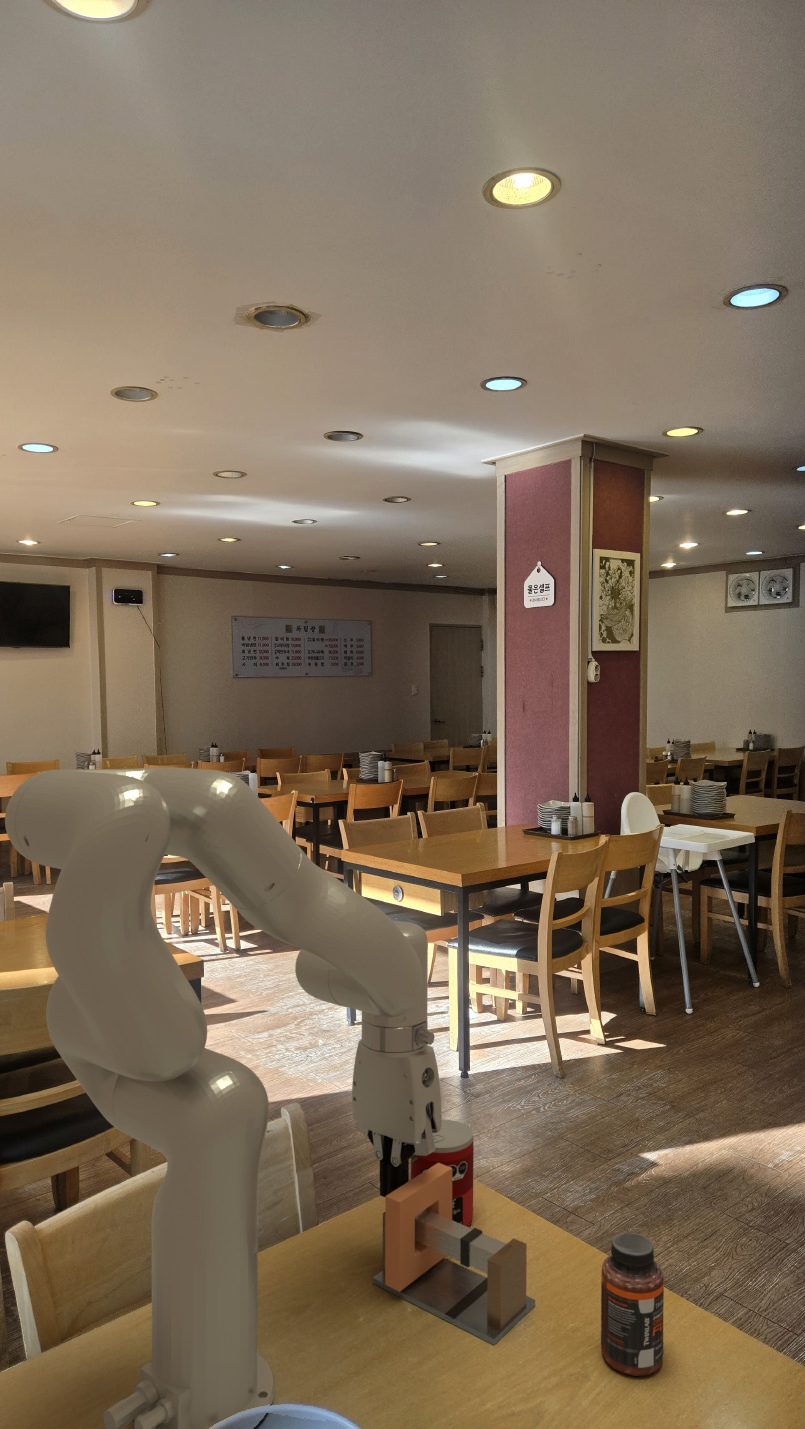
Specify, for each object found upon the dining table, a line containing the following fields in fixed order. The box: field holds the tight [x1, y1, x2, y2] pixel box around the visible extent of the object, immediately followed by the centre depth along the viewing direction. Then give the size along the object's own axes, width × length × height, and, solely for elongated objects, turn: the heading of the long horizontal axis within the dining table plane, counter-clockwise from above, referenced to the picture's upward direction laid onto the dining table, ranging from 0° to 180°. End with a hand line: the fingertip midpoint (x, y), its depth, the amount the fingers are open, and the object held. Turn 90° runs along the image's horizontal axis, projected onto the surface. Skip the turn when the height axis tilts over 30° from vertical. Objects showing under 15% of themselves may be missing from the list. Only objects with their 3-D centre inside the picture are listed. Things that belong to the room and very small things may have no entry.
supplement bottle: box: [600, 1232, 665, 1377], centre depth 91 cm, size 6×6×11 cm
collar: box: [384, 1163, 452, 1292], centre depth 104 cm, size 2×10×10 cm, turn 141°
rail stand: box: [371, 1209, 536, 1346], centre depth 101 cm, size 16×8×7 cm, turn 51°
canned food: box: [410, 1119, 474, 1228], centre depth 116 cm, size 8×8×11 cm
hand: (394, 1193), depth 106 cm, fingers closed
